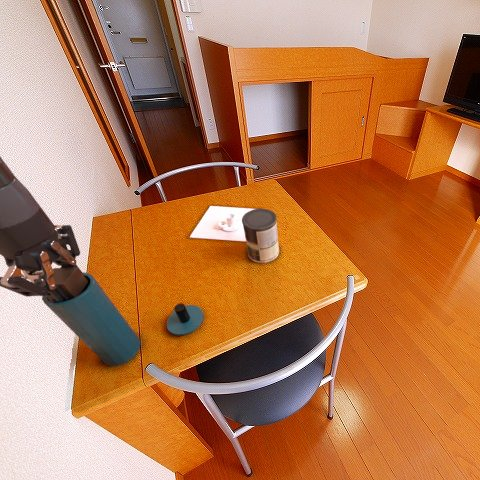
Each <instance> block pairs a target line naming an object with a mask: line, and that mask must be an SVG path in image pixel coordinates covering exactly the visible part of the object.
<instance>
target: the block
mask: <svg viewBox="0 0 480 480" xmlns="http://www.w3.org/2000/svg"><path fill="white" fill-rule="evenodd" d="M52 268H53V271H54V273H55V274H54V275H53V278H54V280H55V282H56V284H57V285H59V286H60V287H61V288H62V289H63V291H64V292H65V293H66V294H67V295H68V296H69V299H73V298H75V297H77V296H79V294H80V293H81V292H82V290H83V289H84V288H85V286H86V285H87V283H88V280H87V279H86V278H85V277H84V275H83V274H82V273H83V272H82V273H81V271H82V270H81V269H80V268H79V269H80V270H81V271H80V270H79V269H78V268H77V267H75V268H60V267H52ZM42 282H43V283H44V280H43V279H42Z"/></svg>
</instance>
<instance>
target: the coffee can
mask: <svg viewBox="0 0 480 480" xmlns="http://www.w3.org/2000/svg"><path fill="white" fill-rule="evenodd" d="M253 209H254V210H251V211H249V212H247V213H246V214H244V216H243V217H242V224H243V228H244V233H245V238H246V241H245V243H246V244H245V245H246V249H247V256H248V258H249V259H250V261H253V262H255V263H259V264H266V263H270V262H272V261H274V260H276V258H277V257H278V256H279V254H280V247H279V236H278V222H277V220H278V218H277V214H276V213H275V212H274V211H273V210H271V209H267V208H253Z"/></svg>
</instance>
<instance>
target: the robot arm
mask: <svg viewBox="0 0 480 480" xmlns="http://www.w3.org/2000/svg"><path fill="white" fill-rule="evenodd" d="M68 246H69V248H68ZM0 255H1V256H2V258H4V261H5V264H6V266H7V270H6V272H5V274H4V275H3V276H0V287H1V288H3V289H6V290H9V291H11V292H14V293H16V294H19V295H21V296H24V297H27V298H28V297H42V296H46V297H47V298H48V299H49V300H50V301H51V302H65V301H68V299H69V296H68V295H67V294H66V293H65V292H64V291H63V289H62V288H61V287H60V286H59V285H57V284H56V282H55V280H54V278H53V275H54V274H55V273H54V271H53V268H54V267H53V266H52V265H53V264H55V265H56V266H58V267H59V268H75V267H77V268H78V269H79V270H80V271H81V273H82V274H83V271H82V270H81V269H80V267H79V266H78V264H77V259H76V258H77V257H79V256H80V255H81V250H80V247H79V244H78V242H77V239H76V236H75V233H74V230H73V227H72V225H71V224H62V225H61V224H54V223H53V222H52V220H51V219H50V217H49V216H48V215H47V213H46V212H45V211H44V209H43V208H42V207H41V205H40V204H39V202H38V201H37V200H36V199H35V197H34V195H33V194H32V193H31V192H30V190H29V189H28V188H27V187H26V186H25V185H24V184H23V183H22V182H21V181H20V180H19V179H18V178H17V176H16V175H15V174H14V173H13V171H12V170H11V169H10V167H9V166H8V165H7V163H6V162H5V161H4V159H3V158H2V156H0ZM43 280H44V283H43V282H42V281H43Z"/></svg>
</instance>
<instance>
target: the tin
mask: <svg viewBox="0 0 480 480" xmlns="http://www.w3.org/2000/svg"><path fill="white" fill-rule="evenodd" d="M82 273H83V275H84V277H85V278H86V279H87V280H88V283H87V285H86V286H85V288H84V289H83V290H82V292H81V293H80V294H79V296H77V297H75V298H73V299H68V301H65V302H51V301H50V300H49V299H48V298H47V297H46V296H41V300H42V302H43V303H44V305H45V306H47V308H48V309H50V311H52V312H53V314H54V315H55V316H56V317H58V318H59V319H60V320H61V321H62V322H63V323H64V325H66V327H67V328H68V329H69V330H70V331H72V333H74V334H75V336H76V337H77V338H79V340H81V341H82V343H84V344H85V346H86V347H88V349H89V350H90V351H92V352H93V353H94V354H95V355H96V356H97V357H98V358H99V359H100V360H101V361H102V362H103V363H104V364H105V365H107V366H110V367H118V366H121V365H123V364H125V363H127V362H129V361H131V360H132V359H133V358H134V357H135V356H136V355H137V354H138V352H139V350H140V347H141V340H140V338H139V336H138V334H137V333H136V332H135V331H134V330H133V328H132V327H131V326H130V324H129V323H128V322H127V320H126V318H125V317H124V316H123V315H122V313H121V312H120V311H119V309H118V308H117V307H116V305H115V304H114V302H112V300H111V299H110V297H109V296H108V294H107V293H106V292H105V291H104V289H103V288H102V286H101V285H100V284H99V282H98V281H97V280H96V278H95V277H94V275H92V274H91V273H88V272H83V271H82Z"/></svg>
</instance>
